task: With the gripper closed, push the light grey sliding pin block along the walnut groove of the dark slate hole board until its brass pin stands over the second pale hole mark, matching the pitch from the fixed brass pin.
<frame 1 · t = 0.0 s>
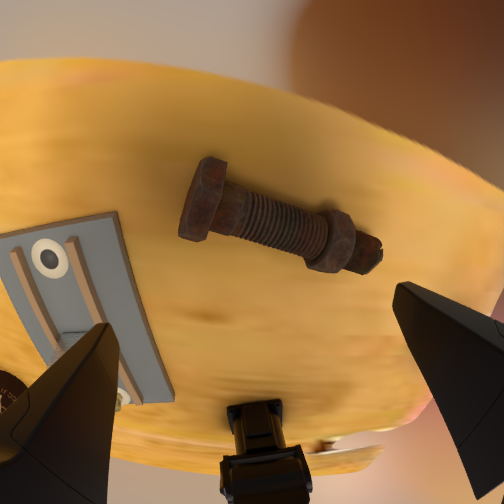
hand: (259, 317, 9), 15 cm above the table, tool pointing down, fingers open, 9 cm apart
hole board: (85, 327, 26), on the table
bolt: (284, 218, 24), on the table
sliding pin block: (76, 369, 23), point 5 cm above the table, slide at 0.0 cm
coffee mug: (21, 391, 30), on the table
fixed brass pin: (116, 387, 30), resting on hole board
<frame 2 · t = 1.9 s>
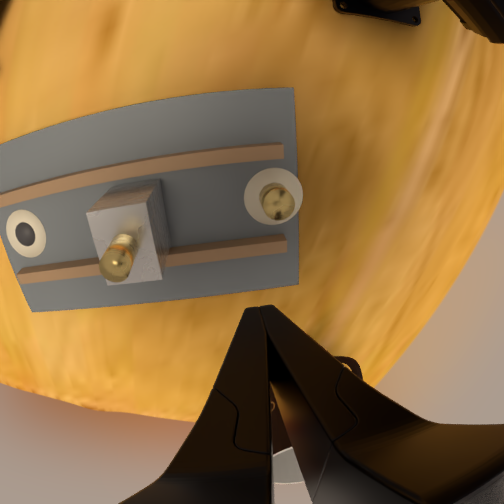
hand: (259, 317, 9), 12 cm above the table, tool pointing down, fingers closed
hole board: (130, 209, 19), on the table
sliding pin block: (129, 236, 15), point 5 cm above the table, slide at 0.0 cm
coffee mug: (298, 360, 28), on the table
fixed brass pin: (270, 191, 20), resting on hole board
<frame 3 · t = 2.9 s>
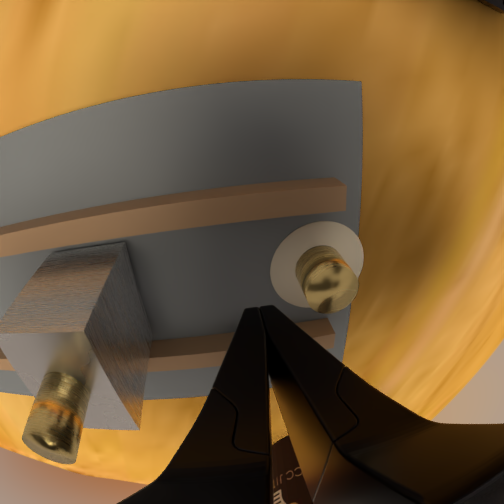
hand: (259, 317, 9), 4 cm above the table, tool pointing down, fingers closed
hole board: (89, 278, 12), on the table
sliding pin block: (76, 358, 8), point 5 cm above the table, slide at 0.0 cm
coffee mug: (323, 436, 20), on the table
fixed brass pin: (309, 252, 12), resting on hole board
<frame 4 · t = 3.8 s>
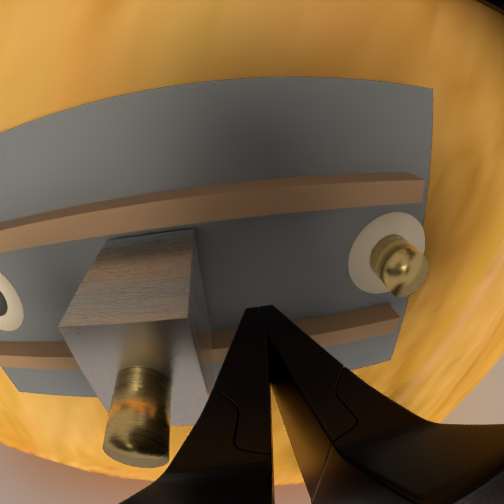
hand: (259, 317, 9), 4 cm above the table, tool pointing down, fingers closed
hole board: (156, 267, 12), on the table
sliding pin block: (148, 351, 8), point 5 cm above the table, slide at 0.7 cm, touching gripper
fixed brass pin: (375, 241, 13), resting on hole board
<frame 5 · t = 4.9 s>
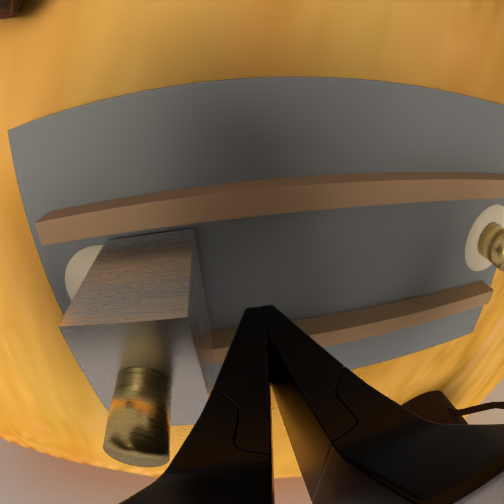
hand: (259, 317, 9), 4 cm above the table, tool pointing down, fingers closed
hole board: (314, 248, 12), on the table
sliding pin block: (149, 350, 8), point 5 cm above the table, slide at 6.9 cm, touching gripper
coffee mug: (425, 403, 21), on the table
fixed brass pin: (474, 228, 13), resting on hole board
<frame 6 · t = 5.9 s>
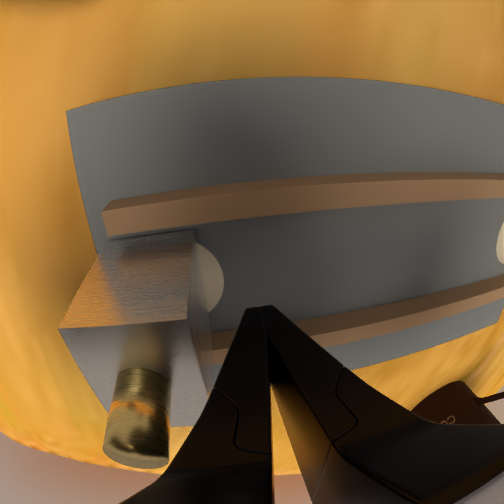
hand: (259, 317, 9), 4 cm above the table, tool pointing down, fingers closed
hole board: (371, 241, 13), on the table
sliding pin block: (148, 352, 8), point 5 cm above the table, slide at 9.4 cm, touching gripper
coffee mug: (448, 393, 21), on the table
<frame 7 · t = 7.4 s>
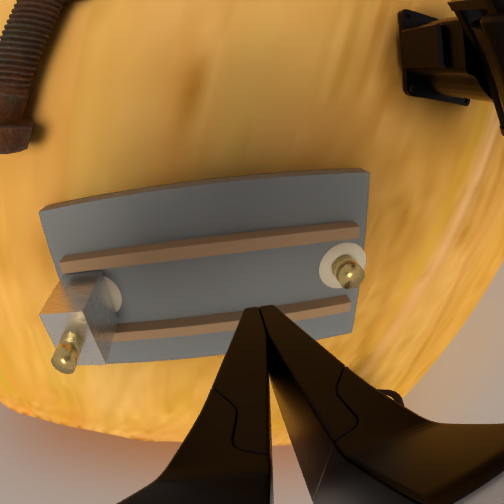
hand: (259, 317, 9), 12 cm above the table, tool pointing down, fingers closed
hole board: (211, 274, 21), on the table
bolt: (49, 29, 13), on the table
sliding pin block: (77, 327, 16), point 5 cm above the table, slide at 9.4 cm
fixed brass pin: (336, 258, 22), resting on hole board
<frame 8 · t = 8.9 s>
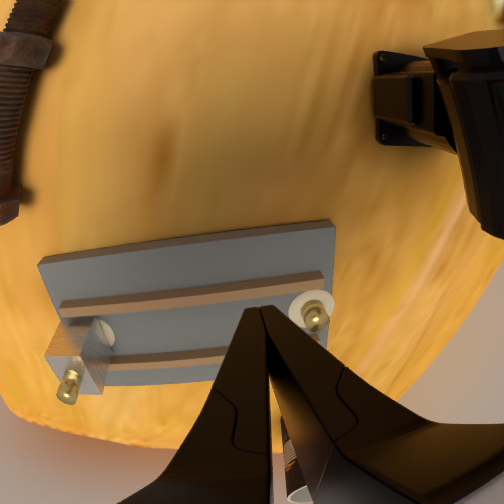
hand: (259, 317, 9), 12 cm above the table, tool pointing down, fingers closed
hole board: (191, 315, 24), on the table
bolt: (25, 96, 15), on the table
sliding pin block: (77, 364, 19), point 5 cm above the table, slide at 9.4 cm
coffee mug: (317, 407, 32), on the table
fixed brass pin: (307, 300, 24), resting on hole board
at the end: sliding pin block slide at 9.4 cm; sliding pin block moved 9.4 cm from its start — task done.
